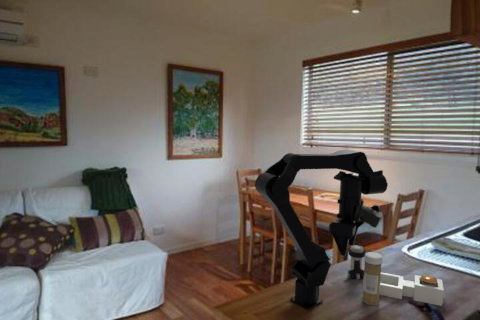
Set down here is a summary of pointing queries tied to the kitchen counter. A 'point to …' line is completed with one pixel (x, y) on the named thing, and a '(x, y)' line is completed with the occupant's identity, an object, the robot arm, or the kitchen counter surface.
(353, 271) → the push button
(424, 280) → the copper and black cylinder
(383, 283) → the housing
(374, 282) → the sprinkles bottle
